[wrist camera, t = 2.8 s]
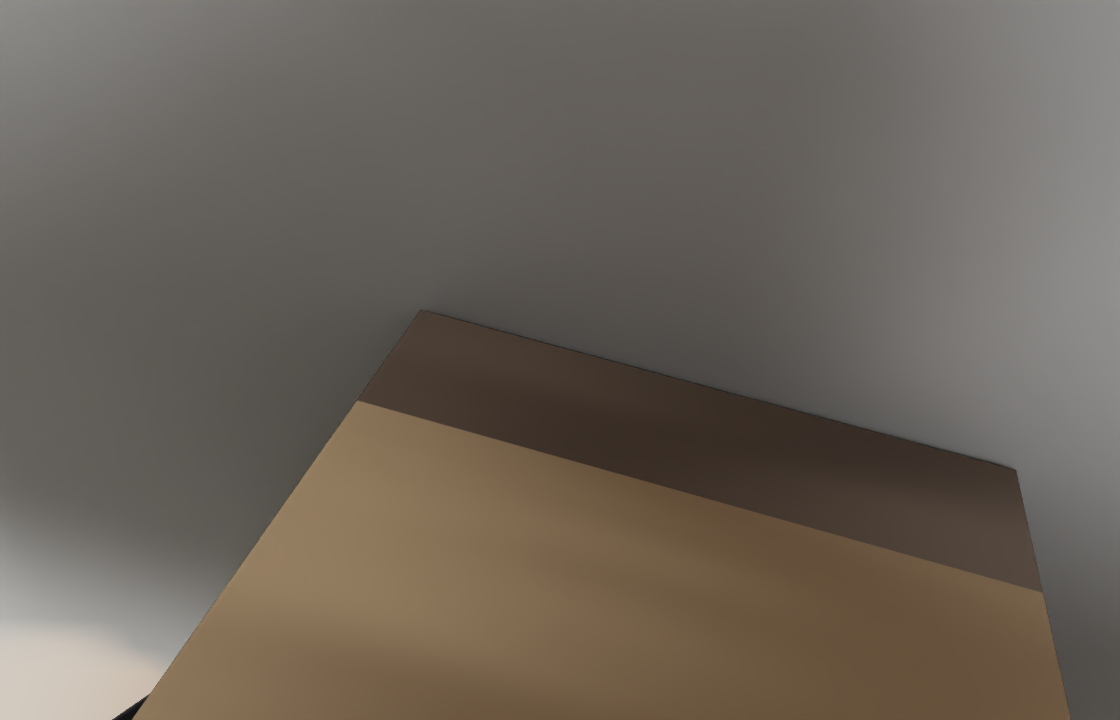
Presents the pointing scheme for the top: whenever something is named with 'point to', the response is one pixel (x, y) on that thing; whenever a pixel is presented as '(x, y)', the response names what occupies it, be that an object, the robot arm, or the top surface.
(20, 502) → the top surface
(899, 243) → the top surface
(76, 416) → the top surface
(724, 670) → the oak sleeve
